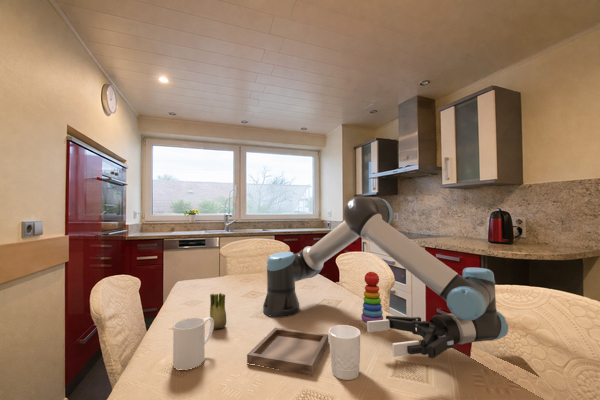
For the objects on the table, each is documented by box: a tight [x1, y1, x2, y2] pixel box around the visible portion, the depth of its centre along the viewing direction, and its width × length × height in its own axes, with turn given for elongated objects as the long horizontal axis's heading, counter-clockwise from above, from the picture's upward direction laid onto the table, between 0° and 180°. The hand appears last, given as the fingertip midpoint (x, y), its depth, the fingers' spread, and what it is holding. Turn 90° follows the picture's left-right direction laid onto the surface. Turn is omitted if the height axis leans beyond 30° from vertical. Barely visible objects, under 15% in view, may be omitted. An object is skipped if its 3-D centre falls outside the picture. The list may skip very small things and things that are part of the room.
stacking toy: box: [360, 271, 384, 329], centre depth 95 cm, size 8×8×19 cm
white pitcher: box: [172, 316, 214, 370], centre depth 74 cm, size 12×8×10 cm, turn 150°
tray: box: [246, 327, 330, 377], centre depth 77 cm, size 18×18×2 cm
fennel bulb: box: [209, 292, 227, 330], centre depth 96 cm, size 6×5×12 cm
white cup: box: [328, 324, 361, 381], centre depth 67 cm, size 8×8×10 cm
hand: (379, 337), depth 69 cm, fingers open, 13 cm apart
